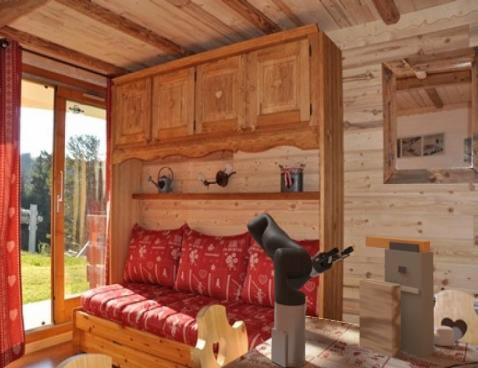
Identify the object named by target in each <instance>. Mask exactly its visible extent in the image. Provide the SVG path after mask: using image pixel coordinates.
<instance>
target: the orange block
mask: <svg viewBox="0 0 478 368" xmlns="http://www.w3.org/2000/svg"><path fill="white" fill-rule="evenodd" d="M389 242H398V243H408V244H419V252H421V253H428V252H431V241H430V240H418V239H408V238H397V237H387V236H386V237H385V236H374V235H373V236H372V235H371V236H365V247H368V248H369V247H370V248H378V249H384V250H385V249H389Z"/></svg>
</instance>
